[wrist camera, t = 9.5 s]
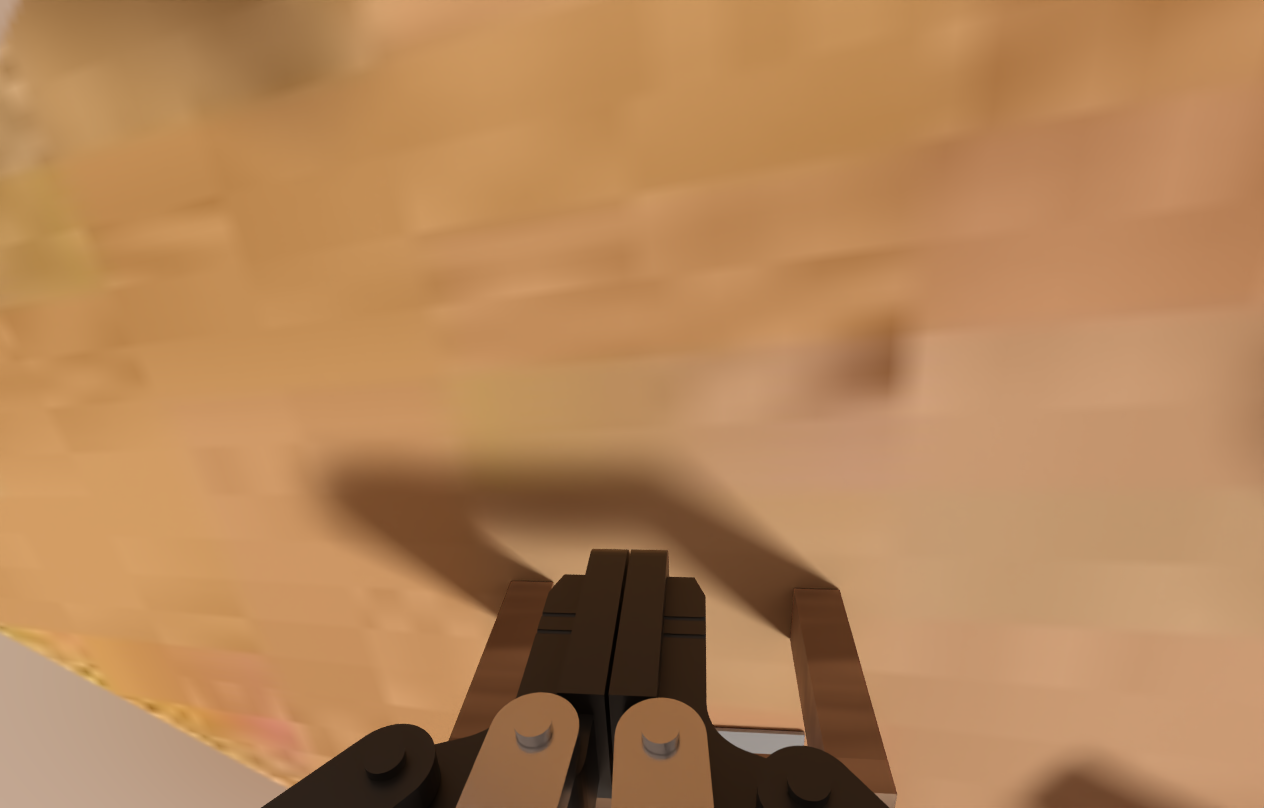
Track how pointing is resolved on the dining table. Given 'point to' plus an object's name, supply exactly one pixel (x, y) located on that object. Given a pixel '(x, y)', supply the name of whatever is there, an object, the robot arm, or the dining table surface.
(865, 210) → the dining table surface
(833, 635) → the bridge
